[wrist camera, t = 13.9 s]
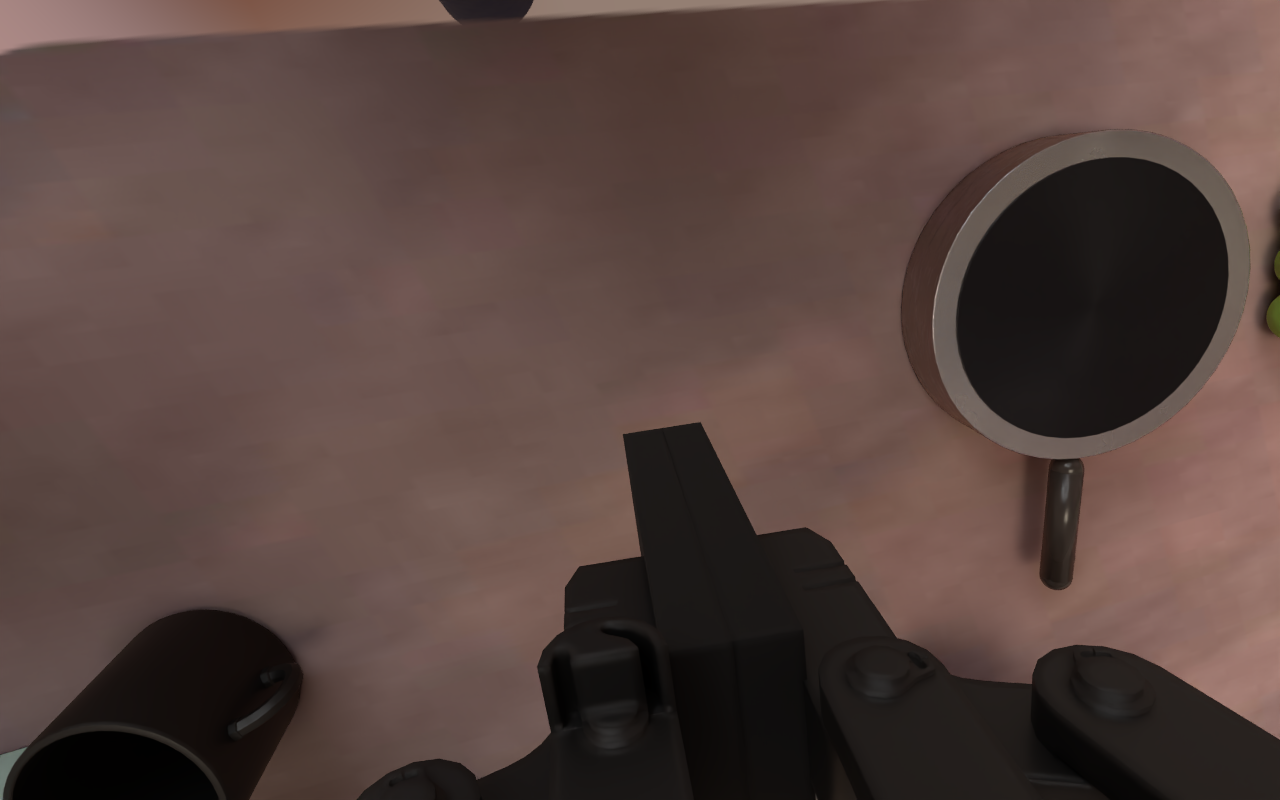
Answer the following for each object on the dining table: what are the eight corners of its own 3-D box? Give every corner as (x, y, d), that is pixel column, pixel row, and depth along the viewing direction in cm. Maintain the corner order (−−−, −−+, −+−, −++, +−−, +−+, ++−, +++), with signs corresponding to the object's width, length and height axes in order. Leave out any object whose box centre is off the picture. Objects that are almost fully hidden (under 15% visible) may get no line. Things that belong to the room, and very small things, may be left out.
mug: (374, 689, 42) (321, 820, 33) (192, 773, 42) (93, 925, 33) (281, 558, 39) (197, 665, 30) (87, 650, 39) (-50, 781, 31)
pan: (904, 147, 36) (940, 143, 32) (1213, 122, 36) (1279, 115, 33) (893, 578, 42) (921, 612, 39) (1152, 547, 43) (1202, 578, 40)
